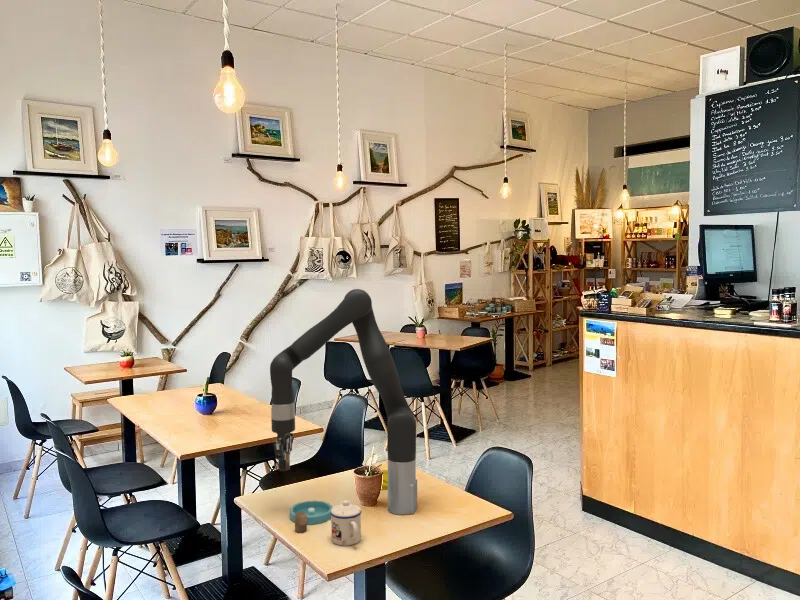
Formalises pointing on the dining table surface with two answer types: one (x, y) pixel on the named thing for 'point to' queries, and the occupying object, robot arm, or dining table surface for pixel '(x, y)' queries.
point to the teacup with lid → (346, 524)
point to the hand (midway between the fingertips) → (284, 468)
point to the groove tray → (318, 514)
